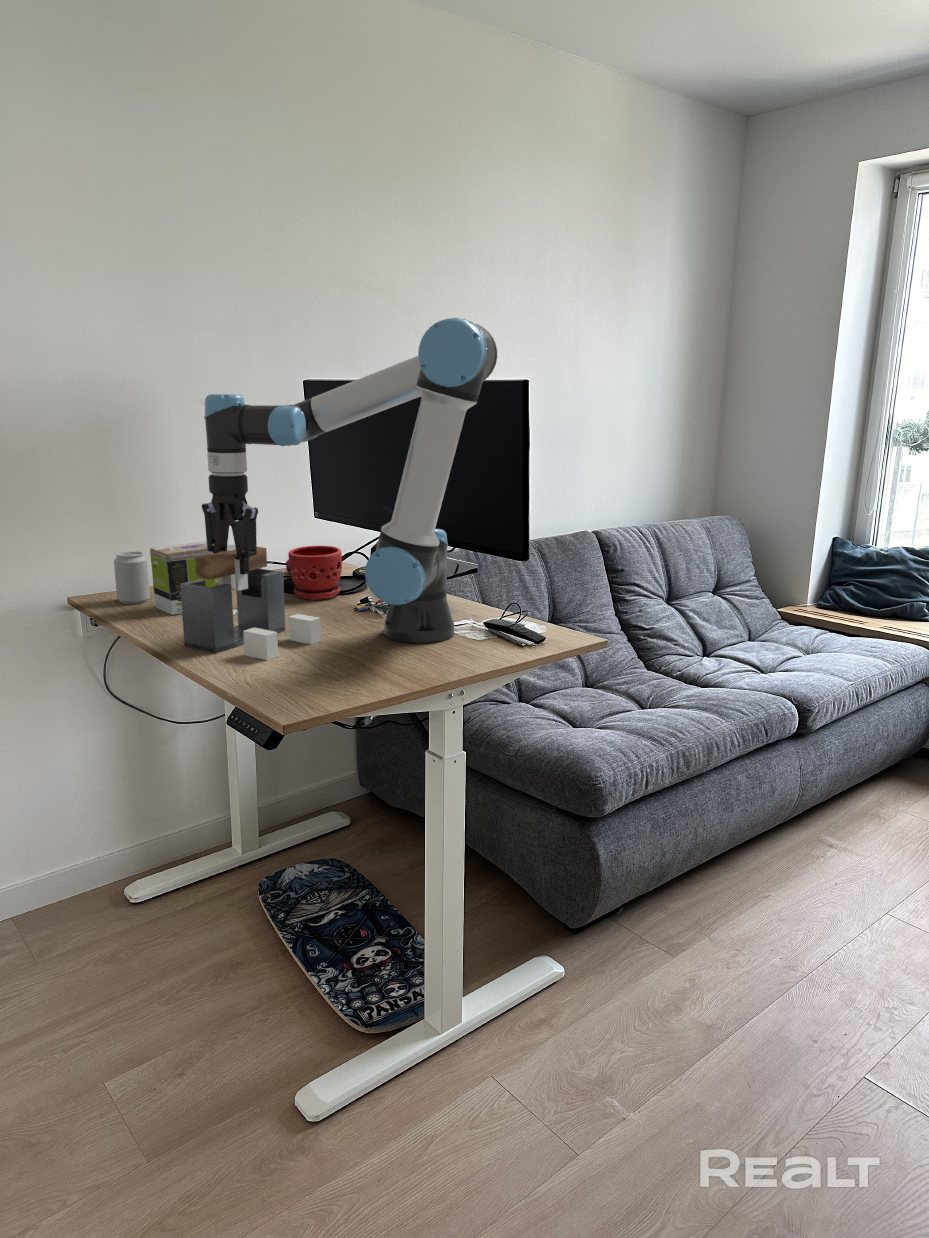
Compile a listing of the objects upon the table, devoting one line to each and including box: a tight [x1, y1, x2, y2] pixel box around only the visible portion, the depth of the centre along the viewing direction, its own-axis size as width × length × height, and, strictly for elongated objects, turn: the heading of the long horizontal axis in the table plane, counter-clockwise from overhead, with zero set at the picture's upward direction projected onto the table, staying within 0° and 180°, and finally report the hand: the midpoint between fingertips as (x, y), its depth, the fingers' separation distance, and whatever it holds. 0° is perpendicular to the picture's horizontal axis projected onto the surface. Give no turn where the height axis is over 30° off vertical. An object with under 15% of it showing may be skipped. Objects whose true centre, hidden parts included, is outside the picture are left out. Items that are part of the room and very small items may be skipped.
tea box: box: [149, 540, 219, 616], centre depth 206 cm, size 15×10×15 cm
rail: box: [195, 546, 268, 580], centre depth 178 cm, size 4×16×4 cm, turn 150°
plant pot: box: [287, 545, 343, 601], centre depth 219 cm, size 13×13×12 cm
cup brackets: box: [180, 568, 286, 654], centre depth 181 cm, size 9×20×13 cm, turn 150°
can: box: [113, 551, 151, 605], centre depth 211 cm, size 8×8×12 cm
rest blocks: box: [243, 613, 322, 661], centre depth 176 cm, size 6×16×5 cm, turn 150°
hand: (233, 587), depth 180 cm, fingers closed on rail, 4 cm apart
